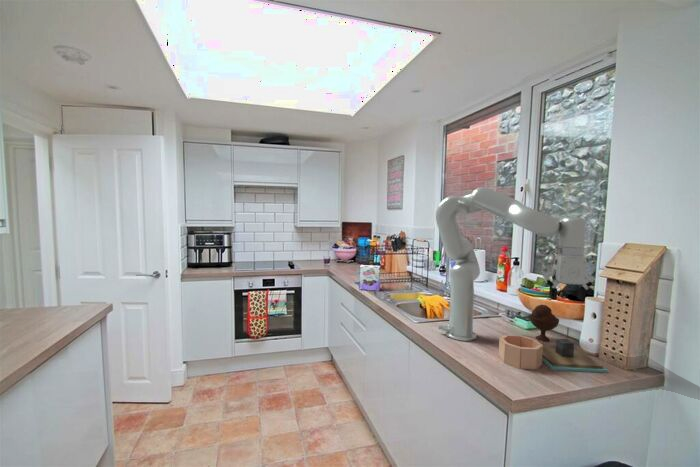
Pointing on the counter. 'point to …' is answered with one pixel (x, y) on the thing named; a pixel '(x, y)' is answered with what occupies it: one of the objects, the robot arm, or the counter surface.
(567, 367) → the teal mat
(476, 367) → the counter surface
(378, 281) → the candy box
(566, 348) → the walnut lid
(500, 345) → the terracotta bowl
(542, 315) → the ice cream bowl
